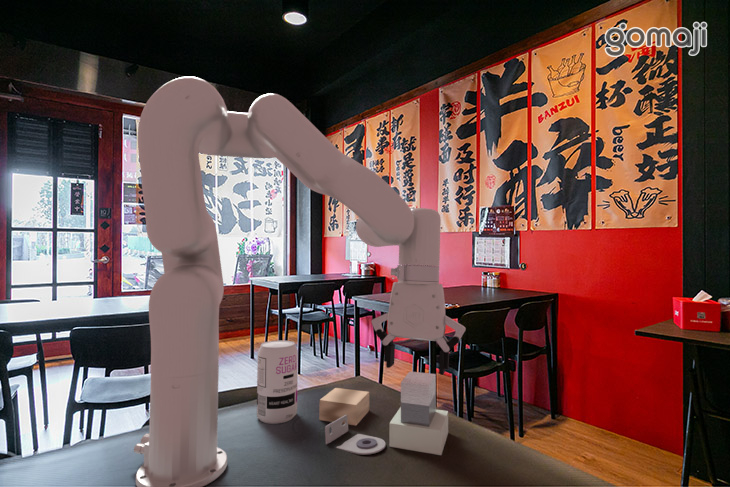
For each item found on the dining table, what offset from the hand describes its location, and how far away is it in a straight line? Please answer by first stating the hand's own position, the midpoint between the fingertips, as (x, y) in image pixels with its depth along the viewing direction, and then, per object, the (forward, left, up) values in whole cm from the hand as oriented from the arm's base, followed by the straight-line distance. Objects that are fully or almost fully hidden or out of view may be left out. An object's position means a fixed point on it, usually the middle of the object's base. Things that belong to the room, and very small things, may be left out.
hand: (415, 369), depth 70 cm
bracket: (-10, -4, -13) cm, 17 cm away
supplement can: (-29, 0, -13) cm, 32 cm away
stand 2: (+1, 0, -13) cm, 13 cm away
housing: (0, 0, -9) cm, 9 cm away
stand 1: (-16, +6, -13) cm, 22 cm away
